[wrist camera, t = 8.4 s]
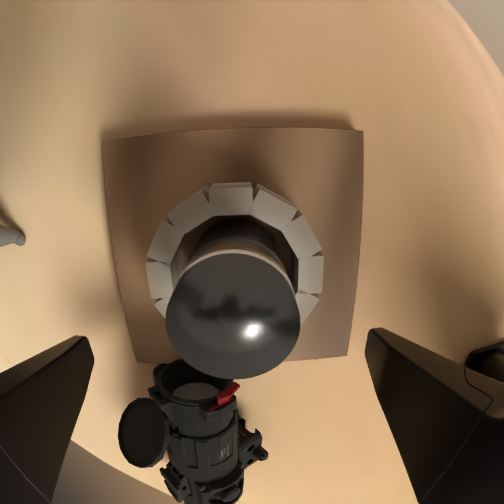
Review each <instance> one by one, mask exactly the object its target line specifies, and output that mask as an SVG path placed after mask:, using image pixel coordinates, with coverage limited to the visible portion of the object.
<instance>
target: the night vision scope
mask: <svg viewBox="0 0 504 504" xmlns="http://www.w3.org/2000/svg"><path fill="white" fill-rule="evenodd" d="M153 377H154V383H155V385H156V386H153V387H151V388H149V389H148V391H149V395H150V397H151V398H152V399H153V400H152V399H150V398H137V399H136V400H134V401H133V402H131V403H130V404H129V405H128V406H127V408H126V409H125V410H124V412H123V414H122V417H121V420H120V422H119V429H118V440H119V445H120V449H121V451H122V453H123V455H124V457H125V458H126V460H127V461H128V462H129V463H130V464H132V465H134V466H137V467H139V468H146V467H153V466H154V465H155V464H157V463H158V462H159V461H160V460H161V459H163V456H164V454H165V451H166V448H167V452H168V456H169V460H170V461H169V463H168V464H167V465H166V466H167V468H165V469H164V468H163V467H162V468H160V472H161V475H162V476H163V477H164V479H165V480H164V482H165V484H166V486H167V488H168V490H169V492H170V493H171V494H172V496H173V497H174V498H175V499H176V500H177V502H182V501H183V500H184V503H185V504H235V502H237V501H238V500H239V498H240V497H241V495H242V492H243V485H244V469H246V468H247V467H248V466H249V465H251V464H253V463H254V462H256V461H257V460H260V461H263V460H266V459H267V458H268V452H267V451H266V450H265V449H264V448H263V447H261V444H262V436H261V433H260V432H259V431H258V430H257V429H256V428H255V433H251V432H249V431H248V430H247V429H246V428H245V420H244V419H243V418H239V419H238V411H237V409H236V407H237V402H236V396H235V395H234V393H235V392H236V391H237V390H238V388H239V387H240V385H239V384H237V383H236V382H234V383H233V379H224V378H218V377H214V376H211V375H208V374H205V373H203V372H201V371H199V370H197V369H195V368H194V367H192V366H190V365H189V364H188V363H187V362H185V361H184V360H183V359H182V358H181V359H177V360H174V361H173V362H171V363H169V364H166V363H163V364H160V365H158V366H157V367H156V368H155V369H154V371H153Z"/></svg>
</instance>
